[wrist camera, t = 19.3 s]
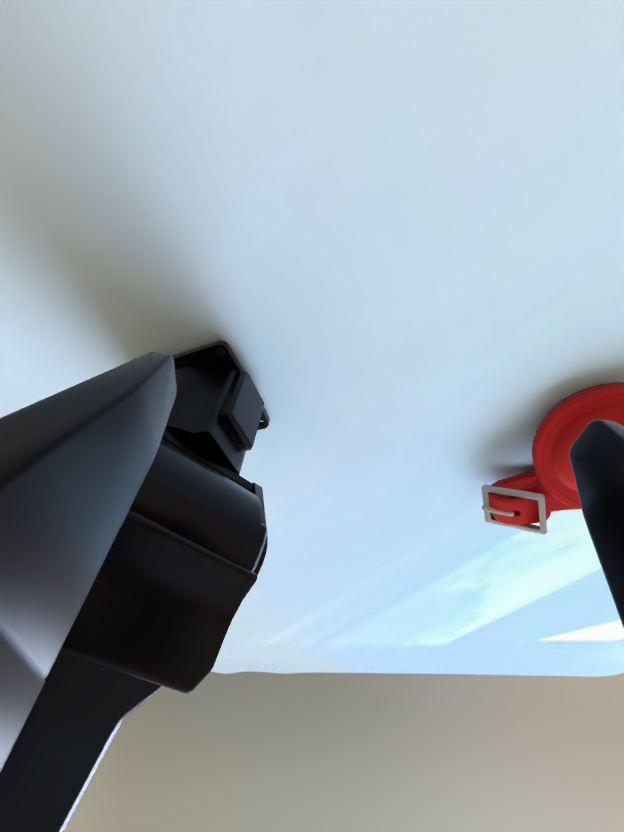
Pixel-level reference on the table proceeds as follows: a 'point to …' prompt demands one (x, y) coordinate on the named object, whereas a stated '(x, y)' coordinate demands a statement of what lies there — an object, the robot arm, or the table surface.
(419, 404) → the table surface
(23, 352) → the table surface
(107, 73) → the table surface
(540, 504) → the tracker holder
